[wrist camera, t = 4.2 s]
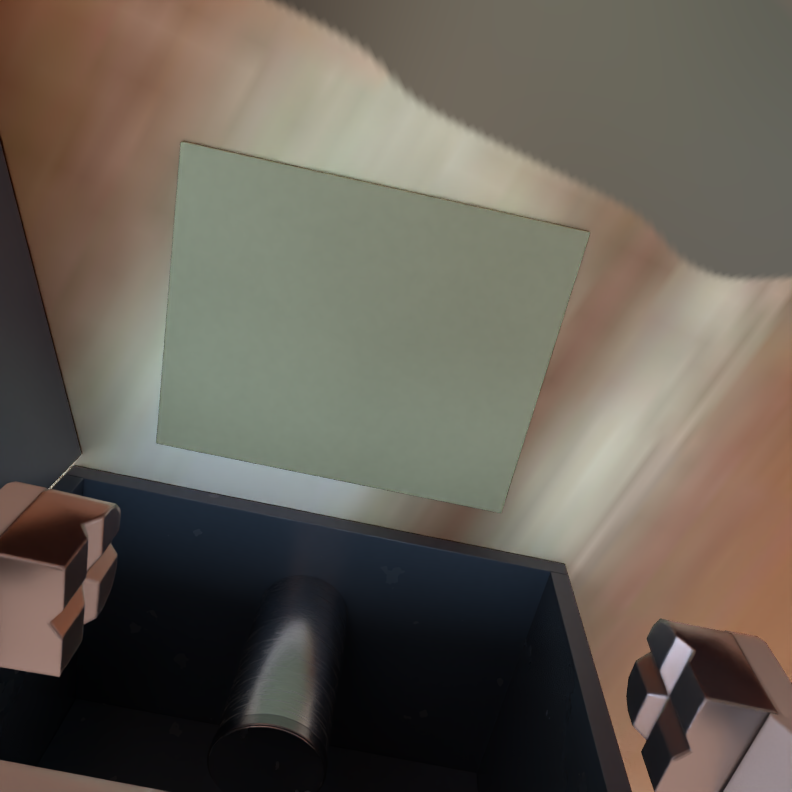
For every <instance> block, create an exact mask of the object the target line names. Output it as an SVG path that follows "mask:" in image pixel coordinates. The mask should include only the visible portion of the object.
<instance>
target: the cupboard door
mask: <svg viewBox="0 0 792 792" xmlns="http://www.w3.org/2000/svg"><path fill="white" fill-rule="evenodd" d="M80 455H81V450H80V446H79V443H78V439H77V435H76V431H75V427H74V423H73V420H72V416H71V412H70V408H69V404H68V400H67V396H66V393H65V389H64V385H63V381H62V377H61V373H60V370H59V366H58V362H57V358H56V354H55V350H54V346H53V343H52V339H51V335H50V331H49V327H48V323H47V320H46V316H45V312H44V308H43V304H42V300H41V296H40V293H39V289H38V285H37V281H36V277H35V273H34V269H33V266H32V262H31V258H30V254H29V250H28V246H27V243H26V239H25V235H24V231H23V227H22V223H21V219H20V216H19V212H18V208H17V204H16V200H15V196H14V193H13V189H12V185H11V181H10V177H9V173H8V169H7V166H6V162H5V158H4V154H3V150H2V146H1V143H0V489H1V488H2V487H3V486H4V485H6V484H7V483H11V482H15V481H17V482H22V483H26V484H31V485H36V486H40V487H45V488H47V489H48V488H49V487H50V486H51V485H52V484H53V483H54V482H55V481H56V480H57V479H58V478H59V477H60V476H61V475H62V474H63V473H64V472H65V471H66V470H67V469H68V468H69V466H70V465H71V464H72V463H73V462H74V461H75V460H76V459H77V458H78V457H79V456H80Z"/></svg>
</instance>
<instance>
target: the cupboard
mask: <svg viewBox="0 0 792 792" xmlns="http://www.w3.org/2000/svg"><path fill="white" fill-rule="evenodd" d="M52 489H54V490H59V491H63V492H67V493H71V494H76V495H80V496H84V497H89V498H93V499H97V500H102V501H106V502H110V503H115V504H117V505H118V506H119V508H120V510H121V515H120V530H119V531H118V533H117V534H116V536H115V537H114V538H113V540H112V541H111V544H112V546H113V548H114V549H115V551H116V552H117V554H118V558H117V569H116V573H115V578H114V582H113V586H112V588H111V591H110V593H109V596H108V598H107V601H106V603H105V605H104V607H103V608H102V610H101V612H100V613H99V615H98V617H97V618H96V619H94V620H92V621H90V622H88V623H86V624H84V626H83V640H82V642H81V644H80V646H79V647H78V649H77V650H76V652H75V653H74V655H73V657H72V658H71V660H70V661H69V663H68V664H67V666H66V668H65V669H64V671H63V672H62V674H61V675H60V677H57V676H51V675H45V674H39V673H33V672H27V671H21V670H15V669H9V668H3V667H0V760H4V761H9V762H14V763H20V764H25V765H30V766H35V767H41V768H46V769H51V770H57V771H62V772H67V773H73V774H78V775H83V776H89V777H94V778H99V779H105V780H110V781H115V782H120V783H126V784H131V785H136V786H142V787H147V788H152V789H158V790H163V791H168V792H223V791H222V790H221V789H220V788H219V787H218V786H217V785H216V784H215V782H214V781H213V780H212V778H211V776H210V774H209V770H208V766H207V755H208V751H209V748H210V745H211V742H212V740H213V737H214V736H215V734H216V733H217V730H218V727H219V724H220V721H221V718H222V715H223V712H224V709H225V706H226V703H227V700H228V697H229V693H230V690H231V687H232V684H233V681H234V678H235V675H236V672H237V669H238V666H239V663H240V660H241V657H242V654H243V651H244V648H245V645H246V642H247V639H248V636H249V633H250V630H251V627H252V624H253V621H254V618H255V615H256V612H257V609H258V606H259V603H260V600H261V597H262V595H263V593H264V592H265V590H266V589H267V588H268V587H269V586H270V585H272V584H273V583H275V582H276V581H278V580H280V579H282V578H286V577H290V576H298V575H301V576H311V577H315V578H318V579H321V580H323V581H325V582H327V583H329V584H330V585H332V586H333V587H334V588H336V589H337V590H338V591H339V592H340V594H341V595H342V596H343V598H344V600H345V602H346V605H347V608H348V621H347V628H346V635H345V641H344V648H343V654H342V661H341V667H340V674H339V681H338V687H337V694H336V700H335V707H334V714H333V720H332V727H331V733H330V740H329V746H328V753H327V758H328V766H327V772H326V778H325V781H324V784H323V786H322V787H321V789H320V790H319V791H318V792H632V791H631V787H630V784H629V780H628V777H627V774H626V770H625V767H624V763H623V760H622V756H621V753H620V750H619V746H618V743H617V739H616V736H615V733H614V729H613V726H612V722H611V719H610V716H609V712H608V709H607V705H606V702H605V699H604V695H603V692H602V688H601V685H600V682H599V678H598V675H597V671H596V668H595V665H594V661H593V658H592V654H591V651H590V648H589V644H588V641H587V637H586V634H585V631H584V627H583V624H582V620H581V617H580V613H579V610H578V607H577V603H576V600H575V596H574V593H573V590H572V586H571V583H570V579H569V576H568V573H567V570H566V566H565V564H563V563H558V562H553V561H548V560H543V559H538V558H533V557H528V556H523V555H518V554H513V553H508V552H503V551H498V550H493V549H488V548H483V547H478V546H473V545H468V544H463V543H458V542H453V541H448V540H443V539H438V538H433V537H428V536H423V535H418V534H413V533H408V532H403V531H398V530H393V529H388V528H383V527H378V526H373V525H368V524H363V523H358V522H353V521H348V520H343V519H338V518H333V517H328V516H323V515H318V514H313V513H308V512H303V511H298V510H293V509H288V508H283V507H278V506H274V505H269V504H264V503H259V502H254V501H249V500H244V499H239V498H234V497H229V496H224V495H219V494H214V493H209V492H204V491H199V490H194V489H189V488H184V487H179V486H174V485H169V484H164V483H159V482H154V481H149V480H144V479H139V478H134V477H129V476H124V475H119V474H114V473H109V472H104V471H99V470H94V469H89V468H84V467H79V466H73V467H72V468H71V469H70V470H69V471H68V472H67V473H66V474H65V475H64V476H63V477H62V478H61V479H60V480H59V481H58V482H57V483H56V484H55V485H54V487H53V488H52Z"/></svg>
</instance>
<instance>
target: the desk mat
mask: <svg viewBox="0 0 792 792" xmlns="http://www.w3.org/2000/svg"><path fill="white" fill-rule="evenodd" d="M589 235H590V232H589V231H585V230H580V229H576V228H571V227H567V226H563V225H558V224H554V223H549V222H545V221H540V220H536V219H531V218H527V217H522V216H518V215H513V214H509V213H504V212H500V211H495V210H491V209H486V208H482V207H477V206H473V205H468V204H464V203H459V202H455V201H450V200H446V199H441V198H437V197H432V196H428V195H423V194H419V193H414V192H410V191H405V190H401V189H396V188H392V187H387V186H383V185H378V184H374V183H369V182H365V181H360V180H356V179H351V178H347V177H342V176H338V175H333V174H329V173H324V172H320V171H315V170H311V169H306V168H302V167H297V166H293V165H288V164H284V163H279V162H275V161H270V160H266V159H261V158H257V157H252V156H248V155H243V154H239V153H234V152H230V151H225V150H221V149H216V148H212V147H207V146H203V145H198V144H194V143H189V142H185V141H182V142H181V144H180V156H179V169H178V181H177V193H176V206H175V218H174V230H173V243H172V255H171V267H170V280H169V292H168V304H167V317H166V329H165V341H164V353H163V366H162V378H161V390H160V403H159V415H158V427H157V440H156V443H157V444H162V445H167V446H172V447H177V448H182V449H187V450H192V451H196V452H201V453H206V454H211V455H216V456H221V457H226V458H231V459H236V460H241V461H246V462H251V463H256V464H260V465H265V466H270V467H275V468H280V469H285V470H290V471H295V472H300V473H305V474H310V475H315V476H320V477H325V478H329V479H334V480H339V481H344V482H349V483H354V484H359V485H364V486H369V487H374V488H379V489H384V490H389V491H393V492H398V493H403V494H408V495H413V496H418V497H423V498H428V499H433V500H438V501H443V502H448V503H453V504H457V505H462V506H467V507H472V508H477V509H482V510H487V511H492V512H497V513H501V512H502V509H503V506H504V503H505V500H506V496H507V493H508V490H509V487H510V484H511V481H512V478H513V474H514V471H515V468H516V465H517V462H518V459H519V455H520V452H521V449H522V446H523V443H524V440H525V437H526V433H527V430H528V427H529V424H530V421H531V418H532V415H533V411H534V408H535V405H536V402H537V399H538V396H539V393H540V389H541V386H542V383H543V380H544V377H545V374H546V371H547V367H548V364H549V361H550V358H551V355H552V352H553V349H554V345H555V342H556V339H557V336H558V333H559V330H560V327H561V323H562V320H563V317H564V314H565V311H566V308H567V305H568V301H569V298H570V295H571V292H572V289H573V286H574V282H575V279H576V276H577V273H578V270H579V267H580V264H581V260H582V257H583V254H584V251H585V248H586V245H587V242H588V238H589Z"/></svg>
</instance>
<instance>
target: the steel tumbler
mask: <svg viewBox="0 0 792 792" xmlns="http://www.w3.org/2000/svg"><path fill="white" fill-rule="evenodd" d="M347 621H348V608H347V605H346V602H345V600H344V598H343V596H342V595H341V594H340V592H339V591H338V590H337V589H336V588H334V587H333V586H332V585H330V584H329V583H327V582H325V581H323V580H321V579H318V578H315V577H311V576H301V575H298V576H290V577H286V578H282V579H280V580H278V581H276V582H275V583H273V584H272V585H270V586H269V587H268V588H267V589H266V590H265V592H264V593H263V595H262V597H261V600H260V603H259V606H258V609H257V612H256V615H255V618H254V621H253V624H252V627H251V630H250V633H249V636H248V639H247V642H246V645H245V648H244V651H243V654H242V657H241V660H240V663H239V666H238V669H237V672H236V675H235V678H234V681H233V684H232V687H231V690H230V693H229V697H228V700H227V703H226V706H225V709H224V712H223V715H222V718H221V721H220V724H219V727H218V730H217V733H216V734H215V736H214V737H213V740H212V742H211V745H210V748H209V751H208V755H207V766H208V770H209V774H210V776H211V778H212V780H213V781H214V782H215V784H216V785H217V786H218V787H219V788H220V789H221V790H222V791H223V792H318V791H319V790H320V789H321V787H322V786H323V784H324V781H325V778H326V772H327V766H328V758H327V753H328V746H329V740H330V733H331V727H332V720H333V714H334V707H335V700H336V694H337V687H338V681H339V674H340V667H341V661H342V654H343V648H344V641H345V635H346V628H347Z"/></svg>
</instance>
